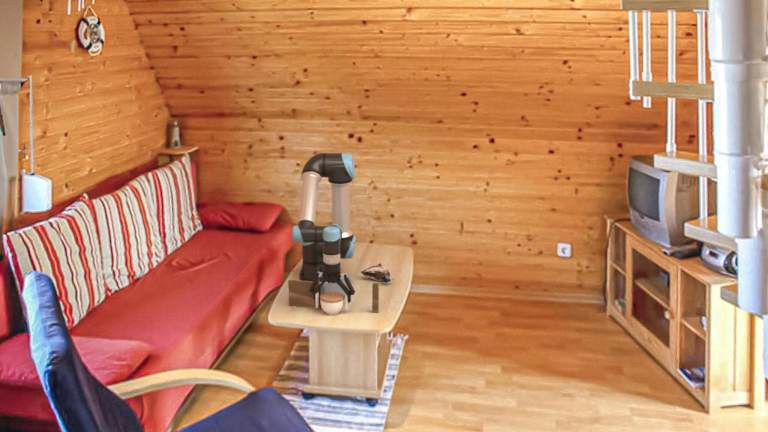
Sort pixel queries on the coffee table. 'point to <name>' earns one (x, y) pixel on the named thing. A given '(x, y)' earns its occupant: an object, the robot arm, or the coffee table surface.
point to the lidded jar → (332, 302)
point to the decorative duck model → (377, 273)
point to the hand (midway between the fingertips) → (332, 308)
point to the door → (334, 287)
